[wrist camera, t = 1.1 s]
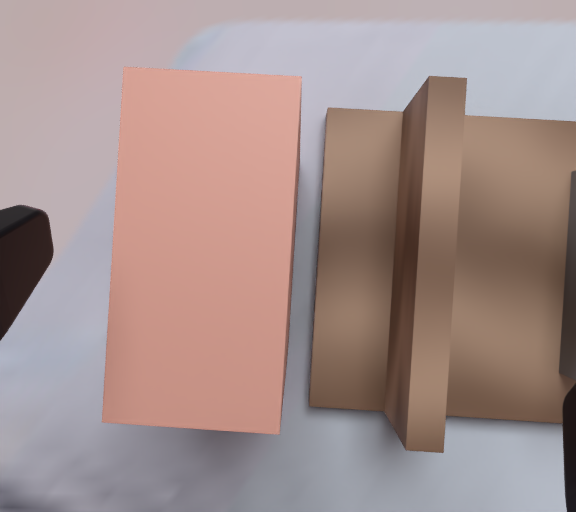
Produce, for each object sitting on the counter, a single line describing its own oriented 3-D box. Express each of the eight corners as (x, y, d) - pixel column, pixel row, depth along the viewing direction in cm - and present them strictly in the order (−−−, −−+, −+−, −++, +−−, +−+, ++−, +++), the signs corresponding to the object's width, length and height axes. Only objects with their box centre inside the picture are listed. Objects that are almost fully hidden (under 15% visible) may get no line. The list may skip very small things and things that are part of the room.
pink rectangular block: (288, 349, 21) (279, 434, 11) (193, 343, 21) (101, 422, 11) (299, 161, 21) (301, 76, 11) (205, 155, 21) (123, 66, 11)
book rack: (659, 422, 21) (773, 475, 16) (308, 399, 21) (312, 443, 16) (678, 134, 21) (798, 96, 16) (326, 114, 21) (335, 70, 16)
